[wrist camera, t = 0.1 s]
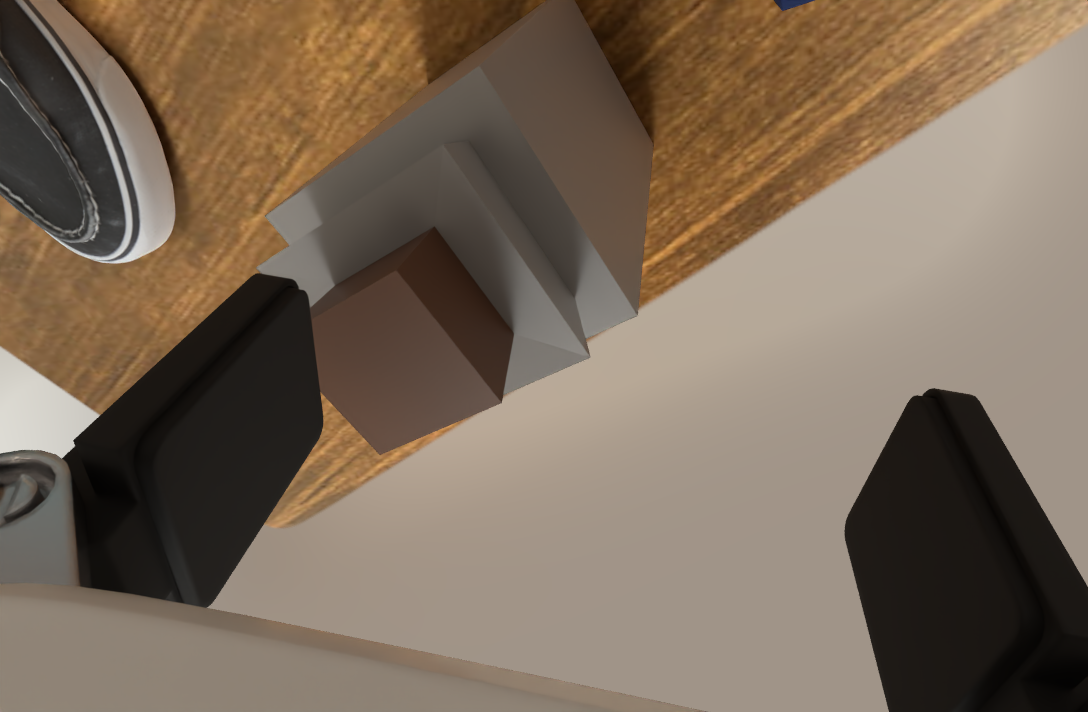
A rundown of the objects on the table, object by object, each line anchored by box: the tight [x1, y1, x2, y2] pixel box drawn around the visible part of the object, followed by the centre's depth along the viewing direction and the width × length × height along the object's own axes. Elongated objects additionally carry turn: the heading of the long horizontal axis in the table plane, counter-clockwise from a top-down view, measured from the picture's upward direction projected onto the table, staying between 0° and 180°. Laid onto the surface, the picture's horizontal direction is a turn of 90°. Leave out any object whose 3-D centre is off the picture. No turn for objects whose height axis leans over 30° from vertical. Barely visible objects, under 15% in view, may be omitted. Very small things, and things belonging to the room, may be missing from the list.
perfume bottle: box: [256, 0, 654, 455], centre depth 20 cm, size 7×7×18 cm
